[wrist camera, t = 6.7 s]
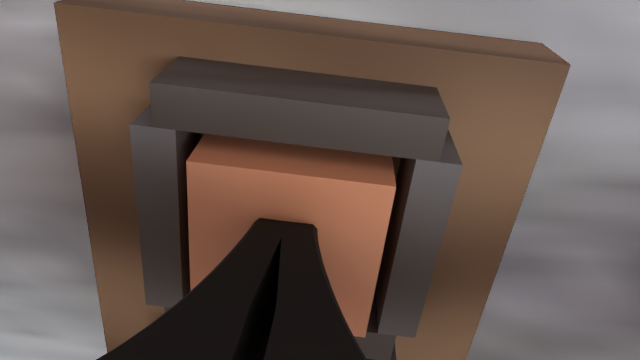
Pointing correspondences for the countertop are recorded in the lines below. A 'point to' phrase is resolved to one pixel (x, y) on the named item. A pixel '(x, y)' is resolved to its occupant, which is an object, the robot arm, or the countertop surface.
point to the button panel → (307, 130)
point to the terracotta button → (293, 208)
